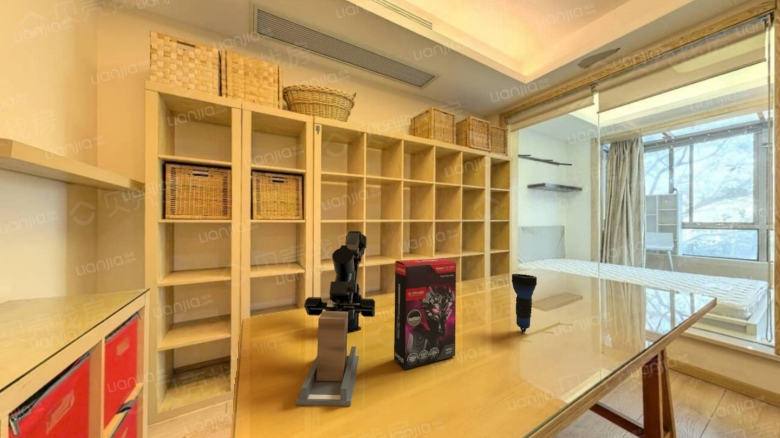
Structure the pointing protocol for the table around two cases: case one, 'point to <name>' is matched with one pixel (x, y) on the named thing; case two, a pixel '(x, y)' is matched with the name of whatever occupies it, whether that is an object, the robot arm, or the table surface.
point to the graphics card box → (424, 311)
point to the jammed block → (332, 346)
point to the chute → (330, 386)
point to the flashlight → (523, 298)
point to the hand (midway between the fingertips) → (336, 338)
